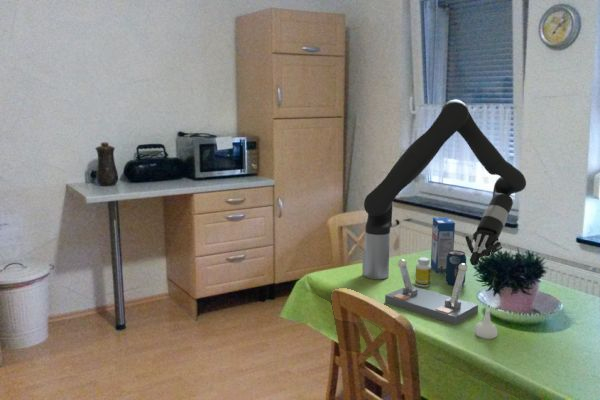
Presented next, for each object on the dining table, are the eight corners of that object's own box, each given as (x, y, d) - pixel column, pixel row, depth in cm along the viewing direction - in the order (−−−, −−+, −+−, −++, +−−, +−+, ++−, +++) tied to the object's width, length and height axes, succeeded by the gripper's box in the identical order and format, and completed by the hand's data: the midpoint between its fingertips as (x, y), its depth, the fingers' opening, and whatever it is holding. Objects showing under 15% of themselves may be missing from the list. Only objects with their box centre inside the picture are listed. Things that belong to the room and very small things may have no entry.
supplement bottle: (430, 287, 199) (431, 261, 197) (415, 286, 200) (416, 260, 198) (430, 282, 204) (431, 257, 202) (415, 281, 205) (416, 256, 203)
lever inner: (404, 292, 185) (395, 262, 179) (408, 287, 187) (400, 257, 181) (411, 294, 183) (402, 263, 177) (415, 289, 185) (407, 258, 179)
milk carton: (452, 273, 215) (455, 223, 211) (436, 273, 215) (438, 223, 211) (446, 265, 225) (448, 217, 221) (430, 265, 225) (432, 217, 221)
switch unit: (385, 302, 185) (385, 289, 184) (409, 291, 194) (409, 280, 194) (455, 324, 166) (455, 311, 166) (477, 312, 176) (478, 299, 175)
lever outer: (447, 301, 174) (458, 261, 176) (451, 302, 176) (462, 263, 178) (455, 303, 172) (466, 263, 174) (459, 305, 174) (470, 265, 176)
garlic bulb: (469, 335, 161) (469, 309, 159) (485, 328, 164) (485, 303, 162) (486, 343, 155) (486, 317, 153) (502, 336, 158) (502, 311, 156)
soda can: (457, 288, 198) (459, 256, 196) (441, 283, 203) (443, 252, 201) (468, 284, 202) (470, 252, 200) (452, 279, 207) (453, 248, 205)
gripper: (471, 212, 189) (451, 254, 183) (509, 218, 180) (488, 262, 173) (478, 224, 194) (458, 266, 187) (514, 231, 184) (495, 274, 178)
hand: (473, 264), depth 180 cm, fingers closed
